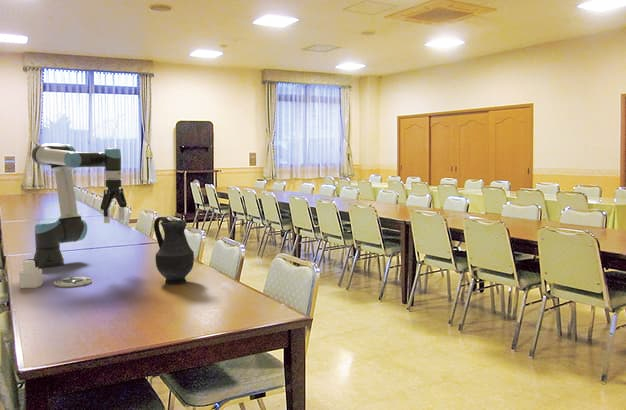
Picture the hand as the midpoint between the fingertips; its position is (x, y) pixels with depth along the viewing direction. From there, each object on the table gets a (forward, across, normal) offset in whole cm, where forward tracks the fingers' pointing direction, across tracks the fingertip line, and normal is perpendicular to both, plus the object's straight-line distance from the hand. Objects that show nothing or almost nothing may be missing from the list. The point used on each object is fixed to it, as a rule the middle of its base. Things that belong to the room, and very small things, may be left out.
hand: (114, 221), depth 292 cm
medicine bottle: (+25, -40, +17) cm, 50 cm away
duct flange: (+25, -31, +3) cm, 40 cm away
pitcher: (+25, -18, -40) cm, 50 cm away
